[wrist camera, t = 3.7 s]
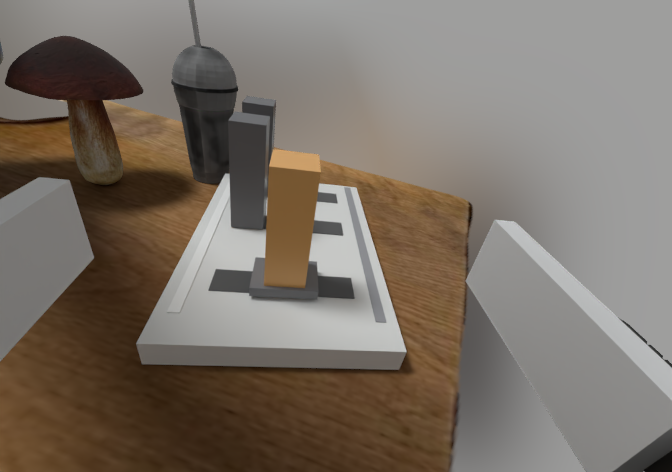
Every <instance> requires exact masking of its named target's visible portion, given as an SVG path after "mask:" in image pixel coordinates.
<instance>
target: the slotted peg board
mask: <svg viewBox="0 0 672 472" xmlns="http://www.w3.org/2000/svg"><path fill="white" fill-rule="evenodd" d="M275 108H276V100H271V99H264V98H257V97H250V96H247V97H246V98H245V99H244V101H243V102H242V111H243V112H234V113H233V115H232V116H231V117H230V118H229V120H228V136H229V173H230V174H226V173H225V175H224V177H223V179H222V181H221V183H220V185H219V187H218V188H217V190H216V192H215V194H214V196H213V198H212V200H211V202H210V204H209V206H208V207H207V209H206V211H205V213H204V215H203V217H202V219H201V221H200V223H199V225H198V227H197V228H196V230H195V232H194V234H193V236H192V238H191V240H190V242H189V244H188V246H187V248H186V249H185V251H184V253H183V255H182V257H181V259H180V261H179V263H178V265H177V267H176V268H175V270H174V272H173V274H172V276H171V278H170V280H169V282H168V284H167V286H166V288H165V289H164V291H163V293H162V295H161V297H160V299H159V301H158V303H157V305H156V307H155V308H154V310H153V312H152V314H151V316H150V318H149V320H148V322H147V324H146V326H145V328H144V329H143V331H142V333H141V335H140V337H139V339H138V341H137V343H136V345H137V349H138V352H139V356H140V359H141V363H142V364H156V365H201V366H247V367H292V368H338V369H383V370H399V369H400V366H401V364H402V362H403V359H404V357H405V355H406V352H407V351H406V348H405V345H404V342H403V338H402V335H401V332H400V329H399V325H398V322H397V319H396V316H395V312H394V309H393V306H392V303H391V299H390V296H389V293H388V290H387V286H386V283H385V280H384V277H383V273H382V270H381V267H380V264H379V260H378V257H377V254H376V251H375V247H374V244H373V241H372V237H371V234H370V231H369V228H368V224H367V221H366V218H365V215H364V211H363V208H362V205H361V202H360V198H359V195H358V192H357V189H356V188H355V187H346V186H337V185H328V184H319V189H318V196H317V204H316V211H315V218H314V226H313V233H312V240H311V248H310V255H309V261H315V262H317V271H318V291H319V292H318V298H317V300H316V299H297V298H279V297H260V296H249V286H250V282H251V277H252V272H253V267H254V262H255V258H256V257H260V258H265V247H266V224H267V200H268V177H269V164H270V160H271V156H272V152H273V149H274V130H275V129H274V128H275V110H276V109H275Z"/></svg>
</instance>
